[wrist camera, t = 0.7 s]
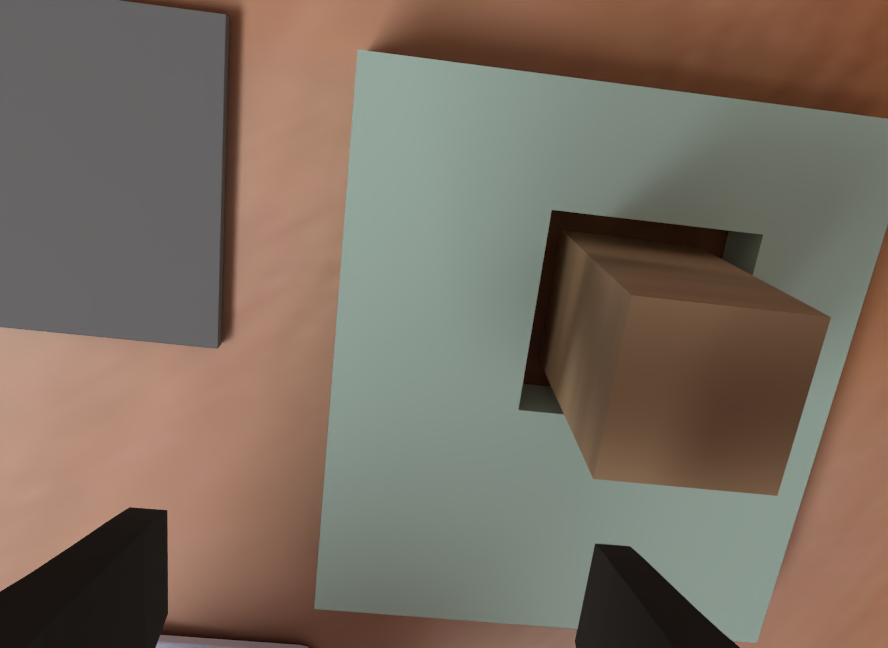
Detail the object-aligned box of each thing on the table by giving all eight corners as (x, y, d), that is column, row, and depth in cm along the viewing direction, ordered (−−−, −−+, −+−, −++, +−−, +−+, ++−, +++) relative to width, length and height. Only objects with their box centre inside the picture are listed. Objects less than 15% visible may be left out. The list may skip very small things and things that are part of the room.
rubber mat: (221, 344, 21) (217, 348, 20) (-97, 311, 20) (-107, 316, 20) (229, 16, 18) (225, 14, 18) (-137, -33, 17) (-150, -36, 17)
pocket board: (730, 600, 24) (757, 642, 22) (322, 567, 23) (313, 609, 21) (870, 120, 19) (919, 122, 18) (364, 54, 18) (357, 49, 17)
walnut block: (667, 373, 22) (777, 495, 15) (539, 359, 21) (593, 478, 15) (696, 245, 20) (830, 316, 14) (561, 230, 20) (631, 295, 13)
